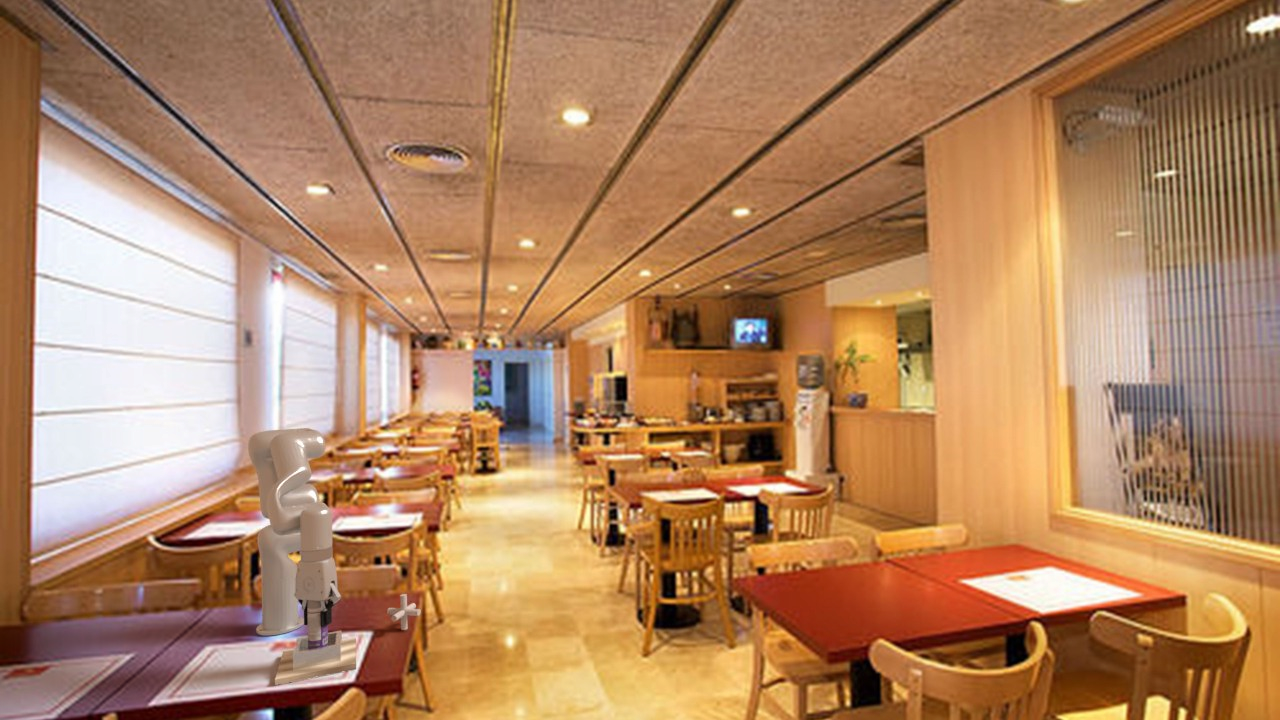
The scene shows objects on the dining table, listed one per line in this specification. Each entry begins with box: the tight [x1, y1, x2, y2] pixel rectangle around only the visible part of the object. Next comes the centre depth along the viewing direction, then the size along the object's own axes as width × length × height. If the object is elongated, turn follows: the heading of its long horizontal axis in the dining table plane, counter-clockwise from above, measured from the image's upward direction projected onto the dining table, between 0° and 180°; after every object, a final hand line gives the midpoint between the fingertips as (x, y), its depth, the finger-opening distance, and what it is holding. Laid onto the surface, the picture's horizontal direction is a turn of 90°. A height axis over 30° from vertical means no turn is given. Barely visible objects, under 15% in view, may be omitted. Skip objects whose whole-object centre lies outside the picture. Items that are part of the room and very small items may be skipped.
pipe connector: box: [386, 593, 422, 631], centre depth 184 cm, size 10×10×10 cm
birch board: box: [274, 637, 357, 686], centre depth 163 cm, size 18×18×2 cm
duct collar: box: [293, 630, 343, 670], centre depth 163 cm, size 11×11×4 cm
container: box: [307, 600, 329, 649], centre depth 163 cm, size 5×5×15 cm
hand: (317, 623), depth 163 cm, fingers closed on container, 4 cm apart
